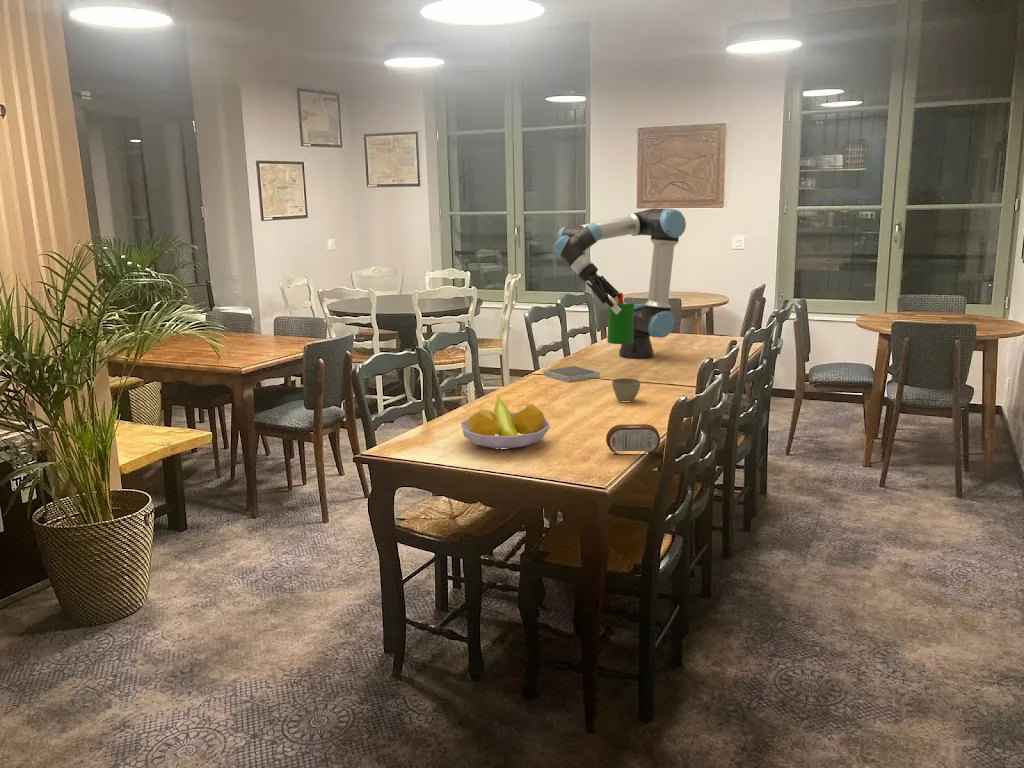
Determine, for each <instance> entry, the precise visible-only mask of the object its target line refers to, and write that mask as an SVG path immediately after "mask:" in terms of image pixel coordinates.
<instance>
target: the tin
mask: <svg viewBox="0 0 1024 768" xmlns="http://www.w3.org/2000/svg"><path fill="white" fill-rule="evenodd" d="M605 441H606V446H607V447H608V449H609V450H610V451H611V452H612V453H613V452H616V451H645V452H648V453H649V454H648V455H650V454H652V453H654V452H656V451H657V449H658V448H659V446H660V444H661V437H660V434H659V431H658V429H657V428H656V427H654V425H651V424H646V423H645V424H642V423H641V424H616V425H614V426H613V427H610V429H609V430H608V431H607V434H606V436H605Z"/></svg>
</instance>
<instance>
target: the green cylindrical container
mask: <svg viewBox="0 0 1024 768" xmlns="http://www.w3.org/2000/svg"><path fill="white" fill-rule="evenodd" d="M617 299H618V304H617V303H616V304H617V305H618V306H619V307H620V309H621V311H620V312H619V313H618V314H617V315H616V314H615V313H614V312H613V311H612V309H611V308H610V307H609V306H608V305H607V343H608V344H613V345H622V344H631V343H633V333H634V305H635V303H634V302H631V303H626V304H623V301H624V293H623V292H619V293H617Z"/></svg>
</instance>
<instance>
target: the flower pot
mask: <svg viewBox="0 0 1024 768" xmlns="http://www.w3.org/2000/svg"><path fill="white" fill-rule="evenodd" d="M641 383H642V381H641V380H639V379H636V378H630V377H629V378H627V377H622V378H621V377H619V378H615V379H613V380H611V385H612V389H613V392H614V395H615V397H616V398H617V400H618V401H619V402H620V401H633V402H634V400H635V399H636V397H637V395H638V393H639V391H640V388H641Z"/></svg>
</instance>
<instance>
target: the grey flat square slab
mask: <svg viewBox="0 0 1024 768" xmlns="http://www.w3.org/2000/svg"><path fill="white" fill-rule="evenodd" d="M544 375H545V376H544ZM600 375H601V374H600V371H597V370H593V369H589V368H586V367H582V366H578V365H572V366H565V367H564V366H563V367H559V368H551V369H545V370H543V376H544V377H548V378H551V379H554V378H555V380H558V381H561V380H562V382H564V381H565V383H571V381H573V382H577V380H579V381H583V380H582V379H585V380H590V379H589V378H591V379H595V378H594V377H597V378H600V377H601V376H600Z"/></svg>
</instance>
